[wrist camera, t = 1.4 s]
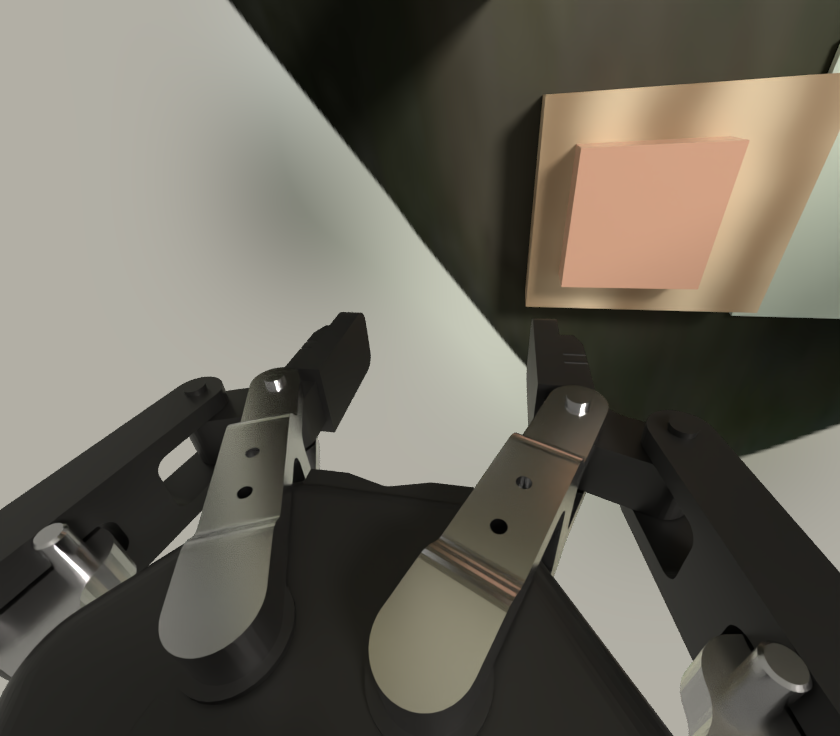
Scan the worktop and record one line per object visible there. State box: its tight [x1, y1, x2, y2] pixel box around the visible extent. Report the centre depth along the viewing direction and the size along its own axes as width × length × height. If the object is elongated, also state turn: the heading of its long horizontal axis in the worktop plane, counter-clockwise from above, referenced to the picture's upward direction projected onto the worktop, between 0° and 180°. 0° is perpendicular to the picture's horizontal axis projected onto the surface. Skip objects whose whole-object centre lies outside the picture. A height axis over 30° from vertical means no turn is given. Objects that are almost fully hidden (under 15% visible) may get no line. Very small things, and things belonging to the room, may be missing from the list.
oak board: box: [525, 73, 840, 313], centre depth 26 cm, size 15×13×3 cm
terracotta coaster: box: [558, 136, 750, 289], centre depth 24 cm, size 8×8×2 cm
